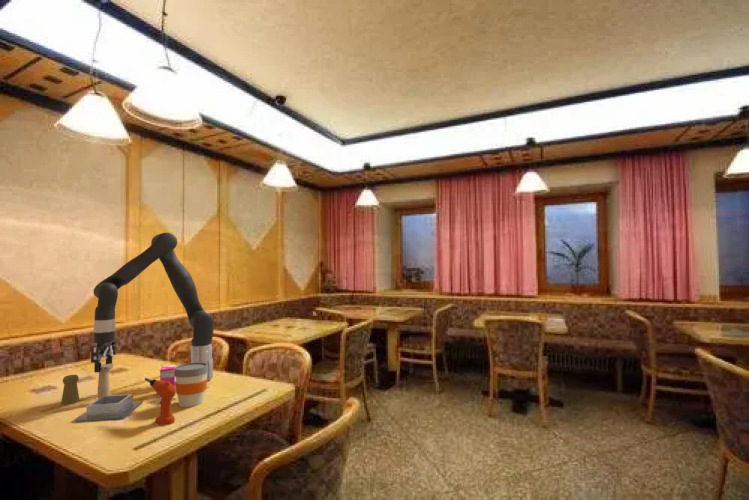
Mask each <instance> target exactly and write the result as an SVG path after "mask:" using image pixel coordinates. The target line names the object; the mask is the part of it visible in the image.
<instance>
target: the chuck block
mask: <svg viewBox="0 0 749 500" xmlns="http://www.w3.org/2000/svg"><path fill="white" fill-rule="evenodd" d="M143 402H144V401H143V400H141V401H140V400H139V401H134V393H126V394H112V395H111V394H109V395H107V396H102V397H100V398H97V399H96V400H94V401H93V402H91V403H89V404H87V406H86V412H85V413H84V414H82V415H81V416H79V417H77V418H76V419H75V420H74V423H86V422H88V423H89V422H99V421H113V420H124V419H125V418H126V417H128V416H129V415H130V414H131V413H133V412H134V411H135V410H136V409H137V408H139V407H140V406H141V405H142V404H143Z"/></svg>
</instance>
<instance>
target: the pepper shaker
mask: <svg viewBox="0 0 749 500" xmlns="http://www.w3.org/2000/svg"><path fill="white" fill-rule="evenodd" d="M78 381H79V376H78V375H77V374H68V375H65V376H64V377H63V378H62V384H63V391H62V397H61V401H60V404H61V405H64V406H65V405H71V404H75V403H78V402H79V401H80V396H79V395H80V393H79V387H78Z"/></svg>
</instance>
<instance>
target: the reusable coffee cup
mask: <svg viewBox="0 0 749 500" xmlns="http://www.w3.org/2000/svg"><path fill="white" fill-rule="evenodd" d="M207 372H208V364H207V363H203V362H195V363H191V362H187V363H183V364H179V365H177V366H176V367H175V373H174V376H175V378H176V381H175V387H176V395H177V400H178V405H179V407H180V408H191V407H196V406H199V405H201V404H203V403H204V399H205V391H206V390H207V386H208V385H207V383H208V381H207Z"/></svg>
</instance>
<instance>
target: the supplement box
mask: <svg viewBox="0 0 749 500" xmlns="http://www.w3.org/2000/svg"><path fill="white" fill-rule="evenodd" d="M175 367H177V366H176V364H175V365H173V364H172V365H164V366H161V367H160V370H159V373H160V374H159V375H160V376H159V377H160V379H159V380H163V381H165V382H170V383H171V384H172V385H173V386H174V387H175V381H176V378H175V376H174V373H175ZM175 388H176V387H175Z"/></svg>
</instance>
